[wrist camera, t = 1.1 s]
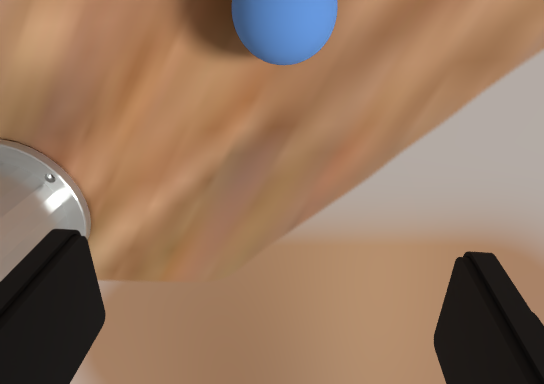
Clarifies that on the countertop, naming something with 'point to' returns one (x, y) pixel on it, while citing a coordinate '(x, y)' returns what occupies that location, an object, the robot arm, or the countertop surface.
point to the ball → (284, 27)
